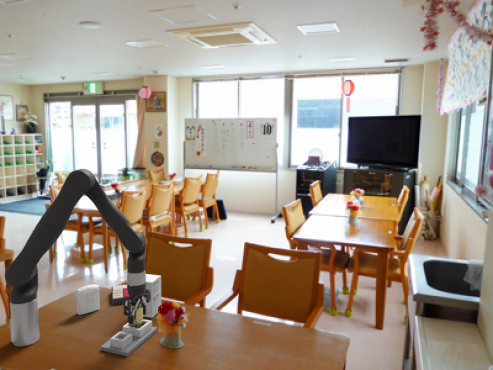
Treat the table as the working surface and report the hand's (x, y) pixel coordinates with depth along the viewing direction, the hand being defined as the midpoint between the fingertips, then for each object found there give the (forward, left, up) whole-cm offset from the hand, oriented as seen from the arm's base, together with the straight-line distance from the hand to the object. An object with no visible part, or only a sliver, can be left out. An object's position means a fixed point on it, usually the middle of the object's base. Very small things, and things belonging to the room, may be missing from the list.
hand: (137, 318), depth 159 cm
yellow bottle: (0, 0, -5) cm, 5 cm away
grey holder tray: (0, -5, -7) cm, 8 cm away
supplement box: (-7, +18, -7) cm, 21 cm away
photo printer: (-33, +9, -7) cm, 35 cm away
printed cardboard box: (-28, +28, -7) cm, 40 cm away
